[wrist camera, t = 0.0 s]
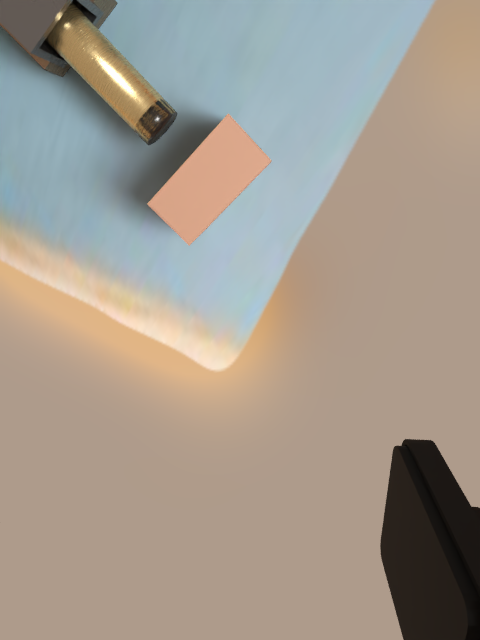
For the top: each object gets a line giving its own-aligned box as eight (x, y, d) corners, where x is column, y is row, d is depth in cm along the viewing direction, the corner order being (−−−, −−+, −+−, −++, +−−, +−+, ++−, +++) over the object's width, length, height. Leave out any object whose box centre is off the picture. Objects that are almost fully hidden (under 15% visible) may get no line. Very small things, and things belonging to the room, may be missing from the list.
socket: (172, 195, 38) (147, 203, 31) (237, 124, 36) (228, 113, 28) (205, 229, 39) (189, 245, 31) (271, 160, 37) (271, 160, 29)
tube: (-20, -33, 30) (-50, -53, 28) (4, -72, 30) (-24, -97, 27) (153, 145, 33) (142, 144, 31) (180, 114, 33) (171, 109, 30)
